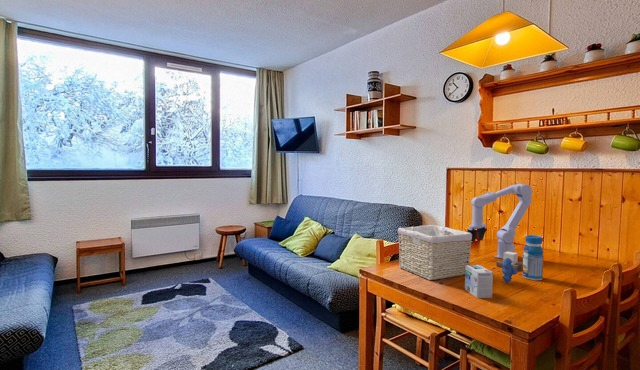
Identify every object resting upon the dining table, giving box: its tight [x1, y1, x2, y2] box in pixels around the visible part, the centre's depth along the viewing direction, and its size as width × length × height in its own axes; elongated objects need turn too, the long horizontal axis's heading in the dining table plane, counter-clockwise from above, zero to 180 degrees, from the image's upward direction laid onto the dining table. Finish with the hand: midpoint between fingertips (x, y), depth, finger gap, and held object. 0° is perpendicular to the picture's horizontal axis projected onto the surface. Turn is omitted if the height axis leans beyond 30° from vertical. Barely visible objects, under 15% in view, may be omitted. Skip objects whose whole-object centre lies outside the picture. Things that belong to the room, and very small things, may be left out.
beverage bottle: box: [522, 234, 544, 281], centre depth 168 cm, size 8×8×20 cm
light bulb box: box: [464, 264, 494, 299], centre depth 148 cm, size 11×7×11 cm, turn 5°
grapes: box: [501, 258, 519, 284], centre depth 160 cm, size 12×7×12 cm, turn 144°
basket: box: [397, 224, 472, 281], centre depth 179 cm, size 27×27×22 cm
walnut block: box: [495, 259, 523, 272], centre depth 186 cm, size 10×10×3 cm
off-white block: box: [502, 252, 519, 264], centre depth 186 cm, size 5×5×5 cm
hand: (476, 241), depth 206 cm, fingers open, 7 cm apart
